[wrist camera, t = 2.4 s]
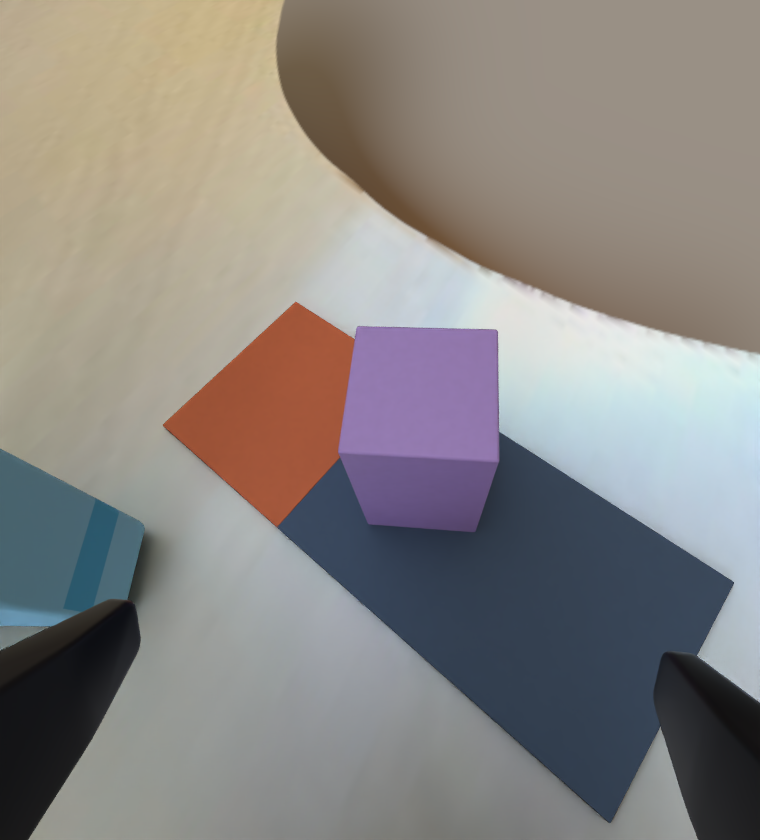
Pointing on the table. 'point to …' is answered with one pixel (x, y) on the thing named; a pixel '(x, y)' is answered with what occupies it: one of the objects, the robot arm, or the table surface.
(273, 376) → the mat
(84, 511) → the data package
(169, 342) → the table surface
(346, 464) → the block
